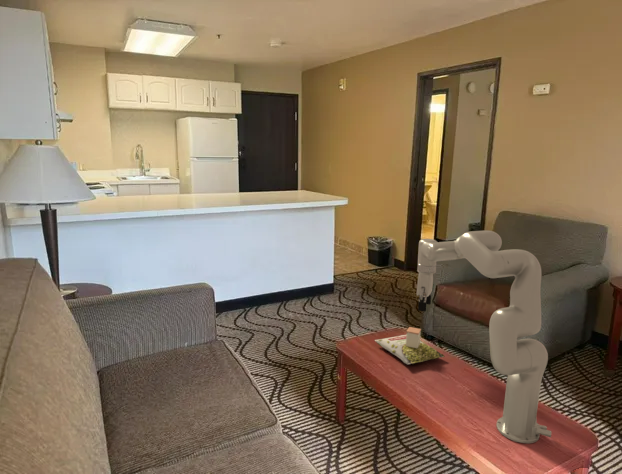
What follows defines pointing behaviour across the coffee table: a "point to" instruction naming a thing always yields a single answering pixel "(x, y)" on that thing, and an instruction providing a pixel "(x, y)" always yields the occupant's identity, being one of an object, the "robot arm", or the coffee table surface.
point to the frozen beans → (408, 350)
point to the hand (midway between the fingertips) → (424, 307)
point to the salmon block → (413, 337)
